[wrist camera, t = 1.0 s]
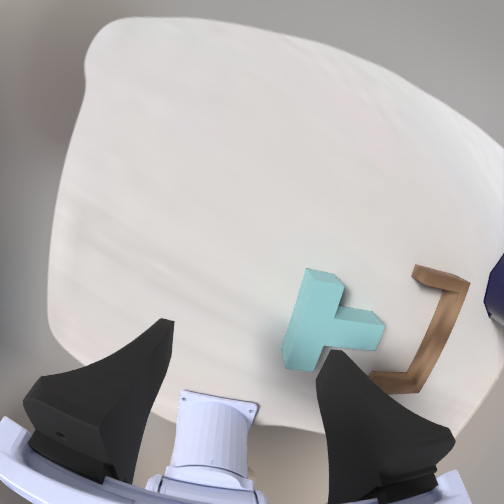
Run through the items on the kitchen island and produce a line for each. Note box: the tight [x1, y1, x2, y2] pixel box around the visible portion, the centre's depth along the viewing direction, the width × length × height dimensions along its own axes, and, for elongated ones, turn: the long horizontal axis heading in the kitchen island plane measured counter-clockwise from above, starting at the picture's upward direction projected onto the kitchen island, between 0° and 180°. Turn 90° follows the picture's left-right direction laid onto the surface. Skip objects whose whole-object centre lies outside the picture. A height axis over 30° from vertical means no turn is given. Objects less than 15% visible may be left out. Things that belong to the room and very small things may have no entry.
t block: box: [281, 268, 385, 372], centre depth 23 cm, size 8×8×3 cm
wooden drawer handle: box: [369, 264, 470, 394], centre depth 24 cm, size 13×6×2 cm, turn 167°
